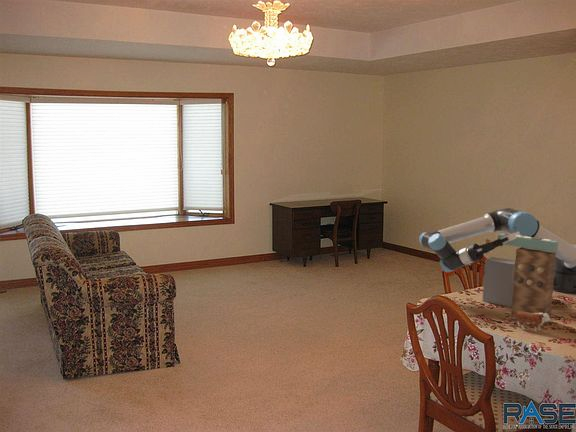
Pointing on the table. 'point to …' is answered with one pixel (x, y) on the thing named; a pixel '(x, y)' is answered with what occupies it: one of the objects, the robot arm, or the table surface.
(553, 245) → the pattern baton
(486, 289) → the grey plinth
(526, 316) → the bull figurine
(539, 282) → the walnut stand
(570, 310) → the table surface
